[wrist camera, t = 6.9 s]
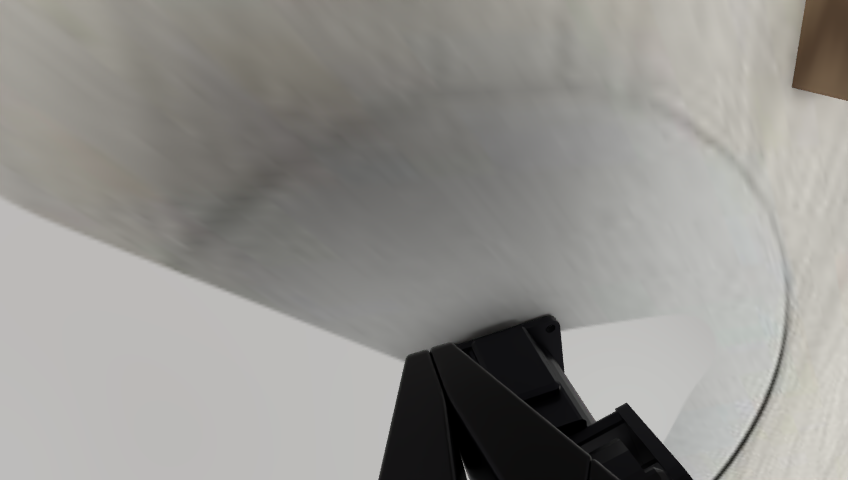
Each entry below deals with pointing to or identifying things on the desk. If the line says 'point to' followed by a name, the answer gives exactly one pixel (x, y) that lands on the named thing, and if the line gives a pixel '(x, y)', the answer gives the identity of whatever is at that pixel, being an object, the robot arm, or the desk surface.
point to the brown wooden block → (823, 49)
